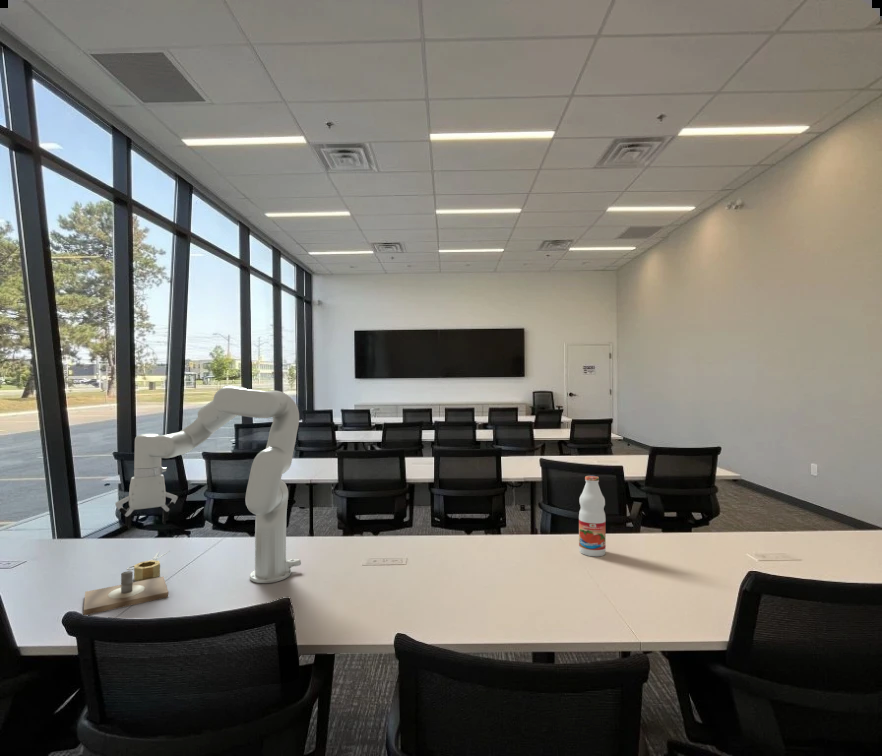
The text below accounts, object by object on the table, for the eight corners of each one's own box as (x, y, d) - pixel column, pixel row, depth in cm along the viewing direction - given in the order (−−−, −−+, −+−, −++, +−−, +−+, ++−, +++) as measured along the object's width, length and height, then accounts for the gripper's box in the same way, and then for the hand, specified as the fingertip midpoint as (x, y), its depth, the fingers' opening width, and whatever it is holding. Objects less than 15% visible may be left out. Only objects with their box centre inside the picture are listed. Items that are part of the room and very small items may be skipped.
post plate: (163, 581, 155) (163, 558, 155) (168, 597, 143) (168, 573, 143) (85, 596, 143) (85, 572, 143) (83, 615, 132) (83, 589, 132)
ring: (158, 571, 163) (158, 558, 163) (160, 577, 157) (160, 565, 157) (133, 575, 159) (133, 563, 159) (134, 582, 153) (134, 570, 153)
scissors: (122, 571, 162) (150, 550, 182) (122, 573, 162) (150, 552, 182) (157, 569, 164) (180, 548, 184) (157, 571, 164) (180, 550, 184)
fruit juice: (606, 550, 184) (605, 475, 184) (605, 558, 175) (605, 479, 175) (579, 547, 187) (579, 473, 187) (577, 555, 178) (577, 478, 178)
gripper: (176, 468, 166) (175, 518, 166) (115, 473, 157) (114, 526, 156) (179, 471, 160) (178, 524, 160) (116, 477, 150) (115, 532, 150)
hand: (147, 525), depth 158 cm, fingers open, 9 cm apart
